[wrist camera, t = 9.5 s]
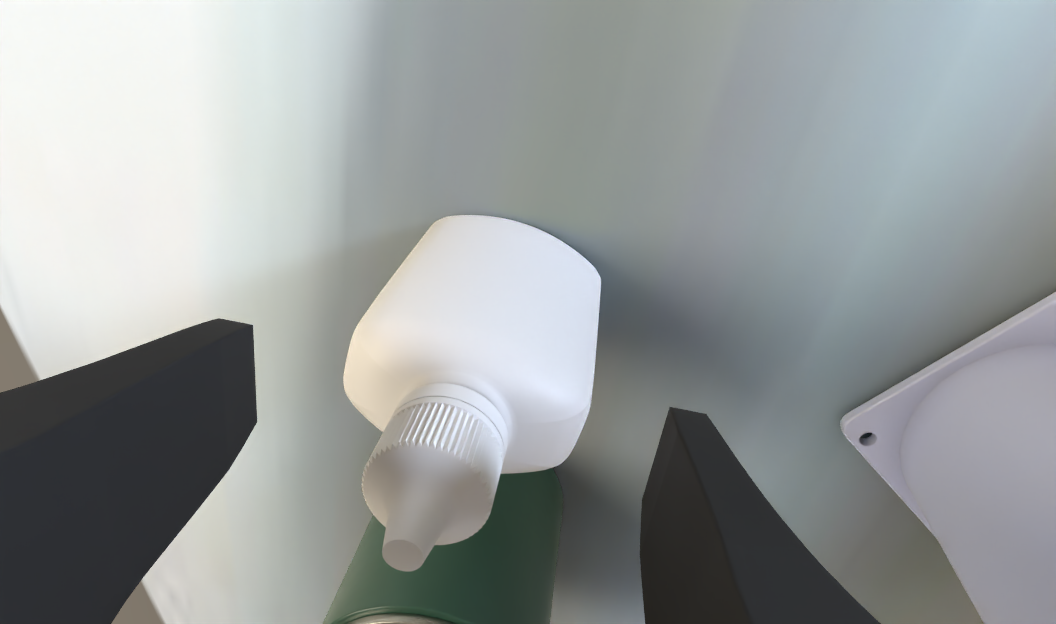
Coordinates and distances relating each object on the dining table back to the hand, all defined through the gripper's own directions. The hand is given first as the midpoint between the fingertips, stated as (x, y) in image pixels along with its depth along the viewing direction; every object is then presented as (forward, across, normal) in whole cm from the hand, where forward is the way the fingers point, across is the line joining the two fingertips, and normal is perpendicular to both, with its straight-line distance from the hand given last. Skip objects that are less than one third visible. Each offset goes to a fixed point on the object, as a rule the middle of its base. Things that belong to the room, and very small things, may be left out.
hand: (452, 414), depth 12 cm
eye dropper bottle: (+11, 0, +2) cm, 11 cm away
